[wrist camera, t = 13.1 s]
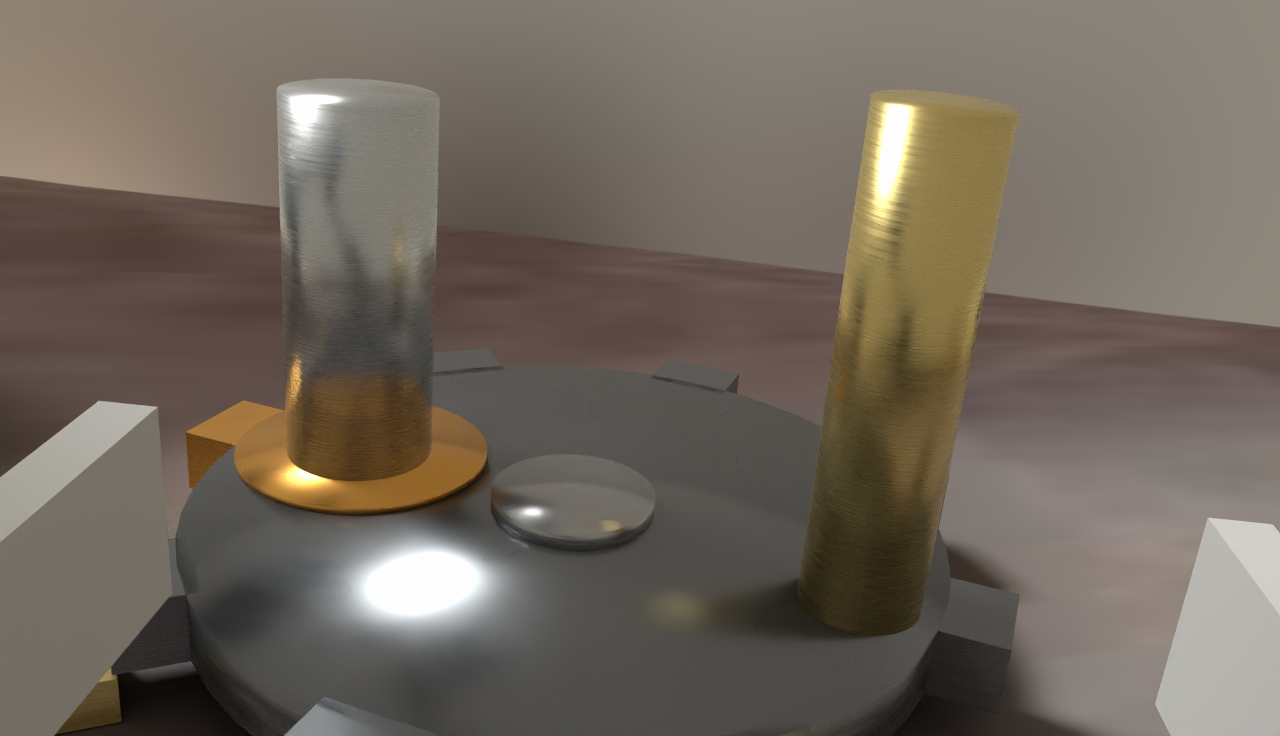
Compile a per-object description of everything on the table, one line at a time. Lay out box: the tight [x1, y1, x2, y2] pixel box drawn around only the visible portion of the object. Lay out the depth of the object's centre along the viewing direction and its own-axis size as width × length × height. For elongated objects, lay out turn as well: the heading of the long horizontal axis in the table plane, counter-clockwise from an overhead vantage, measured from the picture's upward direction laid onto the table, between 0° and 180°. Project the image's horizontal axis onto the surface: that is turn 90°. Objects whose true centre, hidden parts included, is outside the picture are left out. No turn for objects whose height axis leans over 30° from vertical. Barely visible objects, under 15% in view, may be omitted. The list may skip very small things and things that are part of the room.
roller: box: [277, 79, 439, 481], centre depth 32 cm, size 4×4×10 cm
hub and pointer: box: [55, 667, 121, 735], centre depth 31 cm, size 8×20×1 cm, turn 115°
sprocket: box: [111, 90, 1020, 736], centre depth 30 cm, size 23×23×14 cm
